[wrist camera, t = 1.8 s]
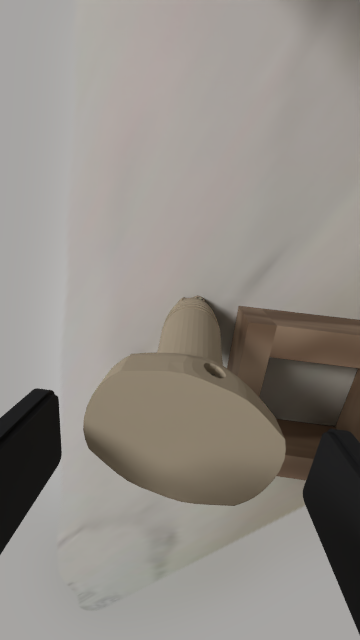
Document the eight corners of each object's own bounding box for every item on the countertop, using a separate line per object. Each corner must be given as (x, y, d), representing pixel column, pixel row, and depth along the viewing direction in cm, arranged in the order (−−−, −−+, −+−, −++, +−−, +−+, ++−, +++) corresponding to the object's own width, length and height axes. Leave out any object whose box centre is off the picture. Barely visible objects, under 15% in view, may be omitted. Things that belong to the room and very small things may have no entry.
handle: (171, 272, 21) (111, 340, 7) (237, 302, 21) (315, 427, 7) (150, 320, 22) (67, 458, 8) (213, 346, 23) (237, 524, 8)
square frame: (238, 305, 21) (248, 322, 17) (399, 324, 21) (451, 346, 16) (215, 430, 26) (218, 467, 21) (347, 448, 25) (377, 490, 21)
